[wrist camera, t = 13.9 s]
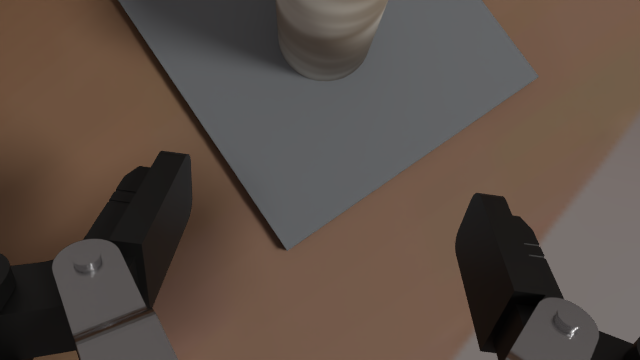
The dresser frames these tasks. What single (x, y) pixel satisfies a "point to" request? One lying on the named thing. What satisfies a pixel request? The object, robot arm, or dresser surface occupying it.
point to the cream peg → (327, 35)
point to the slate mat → (329, 97)
